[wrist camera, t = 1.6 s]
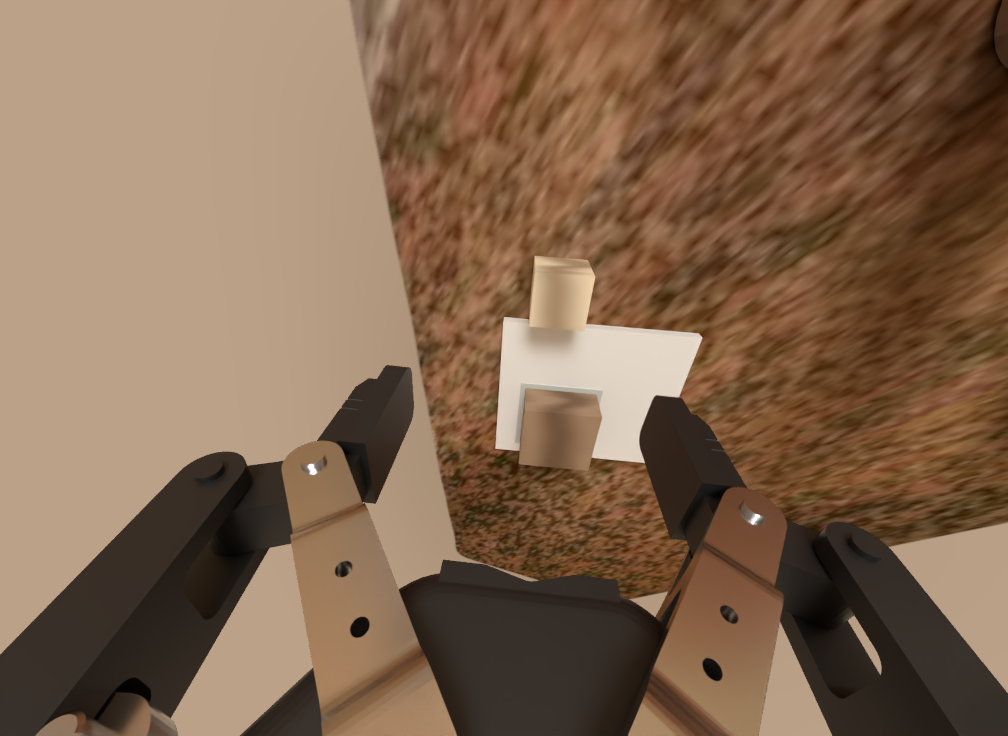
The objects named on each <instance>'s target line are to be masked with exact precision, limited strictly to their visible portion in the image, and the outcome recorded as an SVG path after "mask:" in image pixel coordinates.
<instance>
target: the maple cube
mask: <svg viewBox="0 0 1008 736" xmlns="http://www.w3.org/2000/svg"><path fill="white" fill-rule="evenodd" d="M594 280H595V275H594V273H593V271H592V269H591V266H590V264H589V262H588V260H580V259H567V258H555V257H542V256H535V258H534V268H533V277H532V287H531V297H530V308H529V327H540V328H552V329H564V330H576V331H585V326H586V321H587V315H588V310H589V305H590V300H591V295H592V290H593V285H594Z"/></svg>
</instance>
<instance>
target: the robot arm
mask: <svg viewBox="0 0 1008 736" xmlns="http://www.w3.org/2000/svg"><path fill="white" fill-rule="evenodd" d="M994 40H995V49H996V53H997V55H998V57H999V59H1000V61H1001V63H1002V64H1003V65H1004V66H1005V67H1006V68H1007V69H1008V0H1002V3H1001V6H1000V10H999V13H998V16H997V19H996V26H995V33H994ZM413 410H414V401H413V386H412V372H411V369H410V368H409V367H400V366H389V365H387V366H385V368H384V369H383V371H382V372H381V374H380V375H379V377H378V378H377V379H367V380H366V381H364V382H363V383H361V384H360V385H358V386H356V387H355V389H354V390H353V391H352V393H351V394H350V396H349V397H348V400H346V401H345V403H344V404H343V405H342V408H341V409H340V410H339V411H338V412H337V414H336V415H335V417H334V418H333V419H332V421H331V422H330V423H329V425H328V426H327V428H326V429H325V430H324V432H323V433H322V435H321V436H320V437H319V439H318V440H317V441H314V442H310V443H307V444H304V445H302V446H300V447H298V448H296V449H295V450H293V451H292V452H291V453H290V454H289V455H288V456H287V457H286V458H285V460H284V461H279V462H273V463H266V464H258V465H250V466H247V464H246V461H245V459H244V458H243V457H242V456H241V455H239V454H238V453H234V452H218V453H213V454H210V455H206V456H204V457H201V458H199V459H197V460H195V461H193V462H191V463H190V464H188V465H187V466H186V467H184V468H183V469H182V470H181V471H180V472H179V473H178V474H177V475H176V476H175V477H174V478H173V479H172V480H171V481H170V482H169V483H168V484H167V485H166V486H165V487H164V488H163V489H162V490H161V491H160V492H159V493H158V494H157V495H156V496H155V497H154V498H153V499H152V500H151V501H150V502H149V503H148V504H147V506H145V508H143V510H142V511H141V512H140V513H139V514H138V515H137V516H136V517H135V518H134V519H133V520H132V521H131V522H130V523H129V524H128V525H127V526H126V527H125V528H124V529H123V530H122V531H121V532H120V533H119V534H118V535H117V536H116V537H115V538H114V539H113V540H112V541H111V542H110V543H109V544H108V545H107V546H106V547H105V548H104V549H103V550H102V551H101V552H100V553H99V554H98V555H97V556H96V557H95V559H94V560H93V561H92V562H91V563H90V564H89V565H88V566H87V567H86V568H85V569H84V570H83V571H82V572H81V573H80V574H79V575H78V576H77V577H76V578H75V579H74V580H73V581H72V582H71V583H70V584H69V585H68V586H67V587H66V588H65V589H64V590H63V591H62V592H61V593H60V595H58V596H57V597H56V598H55V599H54V600H53V601H52V602H51V604H49V605H48V607H47V608H46V609H45V610H44V611H43V612H42V613H41V614H40V615H39V616H38V617H37V618H36V619H35V620H34V621H33V622H32V623H31V624H30V625H29V626H28V627H27V628H26V629H25V630H24V631H23V632H22V633H21V634H20V635H19V636H18V637H17V638H16V639H15V640H14V641H13V642H12V644H10V645H9V646H8V647H7V648H6V649H5V650H4V651H3V653H2V654H0V736H178V732H177V728H176V725H175V723H174V721H173V720H171V717H172V715H173V713H174V711H175V710H176V708H177V706H178V705H179V703H180V701H181V699H182V698H183V696H184V694H185V693H186V691H187V689H188V687H189V686H190V684H191V682H192V680H193V679H194V677H195V675H196V673H197V672H198V670H199V668H200V667H201V665H202V663H203V661H204V660H205V658H206V656H207V655H208V653H209V651H210V649H211V648H212V646H213V644H214V643H215V641H216V639H217V637H218V636H219V634H220V632H221V630H222V629H223V627H224V625H225V623H226V622H227V620H228V618H229V617H230V615H231V613H232V612H233V610H234V608H235V606H236V604H237V603H238V601H239V599H240V597H241V596H242V594H243V593H244V591H245V589H246V587H247V586H248V584H249V582H250V580H251V579H252V577H253V575H254V574H255V572H256V570H257V568H258V567H259V565H260V563H261V561H262V560H263V558H264V556H265V555H266V553H267V551H268V549H269V548H270V547H276V546H281V545H286V544H291V545H292V550H293V556H294V562H295V567H296V573H297V579H298V584H299V590H300V595H301V601H302V607H303V613H304V618H305V624H306V630H307V635H308V641H309V647H310V652H311V658H312V664H313V668H312V669H311V670H310V671H309V672H308V673H307V674H306V675H304V676H303V677H302V678H301V679H300V680H299V681H298V682H297V683H296V684H295V685H294V686H293V687H292V688H291V689H289V690H288V691H287V692H286V693H285V694H284V695H283V696H282V697H281V698H280V699H279V700H278V701H277V702H275V704H274V705H272V706H271V707H270V708H269V709H268V710H267V711H266V712H265V713H264V714H263V715H262V716H261V717H259V718H258V719H257V720H256V721H255V722H254V723H253V724H252V725H251V726H250V727H249V728H248V729H247V730H246V731H244V732H243V733H242V734H241V735H240V736H758V735H759V730H760V725H761V719H762V714H763V709H764V703H765V698H766V692H767V687H768V682H769V676H770V671H771V666H772V660H773V655H774V650H775V644H776V639H777V633H778V628H779V622H781V624H782V626H783V629H784V631H785V633H786V635H787V637H788V639H789V642H790V644H791V646H792V648H793V650H794V652H795V655H796V657H797V659H798V661H799V663H800V665H801V668H802V670H803V672H804V674H805V677H806V679H807V681H808V683H809V685H810V688H811V690H812V692H813V694H814V696H815V698H816V701H817V703H818V705H819V707H820V709H821V712H822V714H823V716H824V718H825V720H826V723H827V725H828V727H829V729H830V731H831V733H832V736H1008V693H1007V692H1006V691H1005V689H1004V688H1003V687H1002V686H1001V684H1000V683H999V682H998V681H997V680H996V678H995V677H994V676H993V675H992V673H991V672H990V671H989V670H988V668H987V667H986V666H985V665H984V663H983V662H982V661H981V660H980V659H979V657H978V656H977V655H976V654H975V652H974V651H973V650H972V649H971V647H970V646H969V645H968V644H967V643H966V641H965V640H964V639H963V638H962V636H961V635H960V634H959V633H958V631H957V630H956V629H955V628H954V627H953V625H952V624H951V623H950V622H949V620H948V619H947V618H946V617H945V615H944V614H943V613H942V612H941V610H940V609H939V608H938V607H937V605H936V604H935V603H934V602H933V601H932V599H931V598H930V597H929V596H928V594H927V593H926V592H925V591H924V590H923V588H922V587H921V586H920V585H919V583H918V582H917V581H916V580H915V578H914V577H913V576H912V575H911V573H910V572H909V571H908V570H907V569H906V567H905V566H904V565H903V564H902V562H901V561H900V560H899V559H898V557H897V556H896V555H895V554H894V553H893V551H892V550H891V549H890V548H889V547H888V546H886V545H885V544H884V543H883V542H882V541H880V540H879V539H878V538H876V537H875V536H873V535H872V534H870V533H869V532H867V531H865V530H863V529H861V528H859V527H856V526H854V525H851V524H848V523H843V522H833V523H830V524H829V525H828V526H827V527H826V528H825V529H824V530H823V531H822V532H818V531H815V530H812V529H810V528H807V527H804V526H801V525H798V524H796V523H793V522H790V521H788V520H786V519H785V517H784V515H783V513H782V512H781V511H780V509H779V508H778V507H777V506H776V505H775V504H774V503H773V502H771V501H770V500H769V499H767V498H766V497H764V496H763V495H761V494H759V493H757V492H755V491H753V490H750V489H747V487H746V485H745V484H744V482H743V480H742V479H741V477H740V476H739V474H738V472H737V471H736V469H735V467H734V466H733V464H732V462H731V461H730V459H729V457H728V456H727V454H726V453H725V452H723V450H724V449H723V448H722V446H721V444H720V443H719V442H718V441H717V438H716V436H715V434H714V433H713V431H712V430H711V428H710V426H708V425H707V424H706V423H705V422H704V421H703V420H702V419H701V418H699V417H698V416H697V415H693V414H691V413H690V411H689V409H688V408H687V406H686V404H685V402H684V401H683V399H682V398H679V397H669V396H660V395H656V396H655V397H654V398H653V400H652V402H651V405H650V407H649V410H648V412H647V415H646V418H645V420H644V423H643V425H642V428H641V431H640V436H639V445H640V450H641V453H642V456H643V459H644V462H645V465H646V468H647V471H648V473H649V476H650V479H651V482H652V485H653V488H654V491H655V494H656V497H657V500H658V503H659V506H660V509H661V512H662V515H663V518H664V520H665V523H666V526H667V529H668V532H669V535H670V538H671V539H678V540H687V543H688V545H689V550H688V551H687V553H686V554H685V557H684V559H683V561H682V563H681V565H680V567H679V569H678V572H677V574H676V576H675V578H674V580H673V582H672V585H671V587H670V589H669V591H668V593H667V596H666V597H665V600H664V602H663V604H662V606H661V608H660V610H659V611H658V613H657V615H656V617H654V616H653V615H651V614H650V613H649V612H648V611H646V610H645V609H643V608H642V607H641V606H639V605H638V604H636V603H634V602H633V601H631V600H629V599H627V598H625V597H623V596H620V593H619V587H618V582H617V580H612V579H604V578H595V577H587V576H578V575H571V576H565V577H559V578H552V579H546V580H540V581H533V582H530V581H525V580H523V579H520V578H517V577H515V576H512V575H510V574H508V573H505V572H503V571H500V570H498V569H495V568H493V567H490V566H488V565H484V564H474V563H467V562H457V561H450V560H443V562H442V566H441V571H440V574H434V575H430V576H426V577H423V578H420V579H418V580H416V581H413V582H411V583H409V584H407V585H406V586H404V587H402V588H400V589H399V590H398V587H397V584H396V582H395V579H394V577H393V574H392V571H391V569H390V566H389V563H388V561H387V558H386V556H385V553H384V550H383V548H382V545H381V543H380V540H379V537H378V535H377V532H376V529H375V527H374V524H373V521H372V519H371V516H370V514H369V511H368V509H367V507H366V505H365V503H364V504H363V502H366V503H376V502H377V499H378V497H379V495H380V492H381V490H382V488H383V485H384V483H385V481H386V479H387V476H388V474H389V472H390V469H391V467H392V465H393V462H394V460H395V458H396V456H397V453H398V451H399V449H400V446H401V444H402V442H403V440H404V437H405V435H406V433H407V430H408V428H409V425H410V423H411V420H412V417H413ZM854 615H855V617H856V619H857V620H858V622H859V623H860V625H861V627H862V628H863V630H864V631H865V633H866V635H867V636H868V638H869V640H870V641H871V643H872V644H873V646H874V648H875V649H876V651H877V653H878V655H879V658H880V661H881V665H882V672H881V676H880V674H879V672H878V671H877V669H876V667H875V666H874V664H873V662H872V661H871V659H870V657H869V656H868V654H867V652H866V651H865V649H864V647H863V646H862V644H861V642H860V641H859V639H858V637H857V635H856V634H855V632H854V631H853V629H852V627H851V625H850V624H849V622H848V620H849V619H850V618H851V617H852V616H854Z"/></svg>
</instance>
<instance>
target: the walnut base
mask: <svg viewBox="0 0 1008 736" xmlns="http://www.w3.org/2000/svg"><path fill="white" fill-rule="evenodd" d="M601 420H602V415H601V411H600V406H599V402H598V398H597V394H586V393H575V392H563V391H552V390H541V389H530V388H526V390H525V399H524V408H523V417H522V426H521V435H520V449H519V464H522V465H532V466H543V467H553V468H563V469H574V470H584V471H588V469H589V465H590V461H591V458H592V454H593V450H594V446H595V443H596V439H597V435H598V431H599V428H600V424H601Z"/></svg>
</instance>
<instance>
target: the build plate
mask: <svg viewBox="0 0 1008 736" xmlns="http://www.w3.org/2000/svg"><path fill="white" fill-rule="evenodd" d="M701 340H702V337H701V336H700V335H699V333H687V332H675V331H663V330H651V329H640V328H628V327H616V326H604V325H592V324H586V326H585V331H576V330H564V329H552V328H540V327H529V319H521V318H510V317H504V321H503V337H502V353H501V369H500V385H499V400H498V416H497V432H496V448H495V449H505V450H515V451H519V449H520V435H521V426H522V417H523V408H524V399H525V390H526V388H530V389H541V390H552V391H563V392H575V393H586V394H597V398H598V402H599V406H600V411H601V415H602V420H601V424H600V428H599V431H598V435H597V439H596V443H595V446H594V450H593V454H592V458H599V459H609V460H620V461H630V462H641V463H645V462H644V459H643V456H642V453H641V450H640V445H639V436H640V431H641V428H642V425H643V423H644V420H645V418H646V415H647V412H648V410H649V407H650V405H651V402H652V400H653V398H654V397H655V396H656V395H660V396H669V397H679V395H680V393H681V390H682V388H683V385H684V383H685V380H686V378H687V375H688V373H689V370H690V368H691V365H692V363H693V360H694V358H695V355H696V353H697V350H698V348H699V345H700V343H701Z"/></svg>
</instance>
